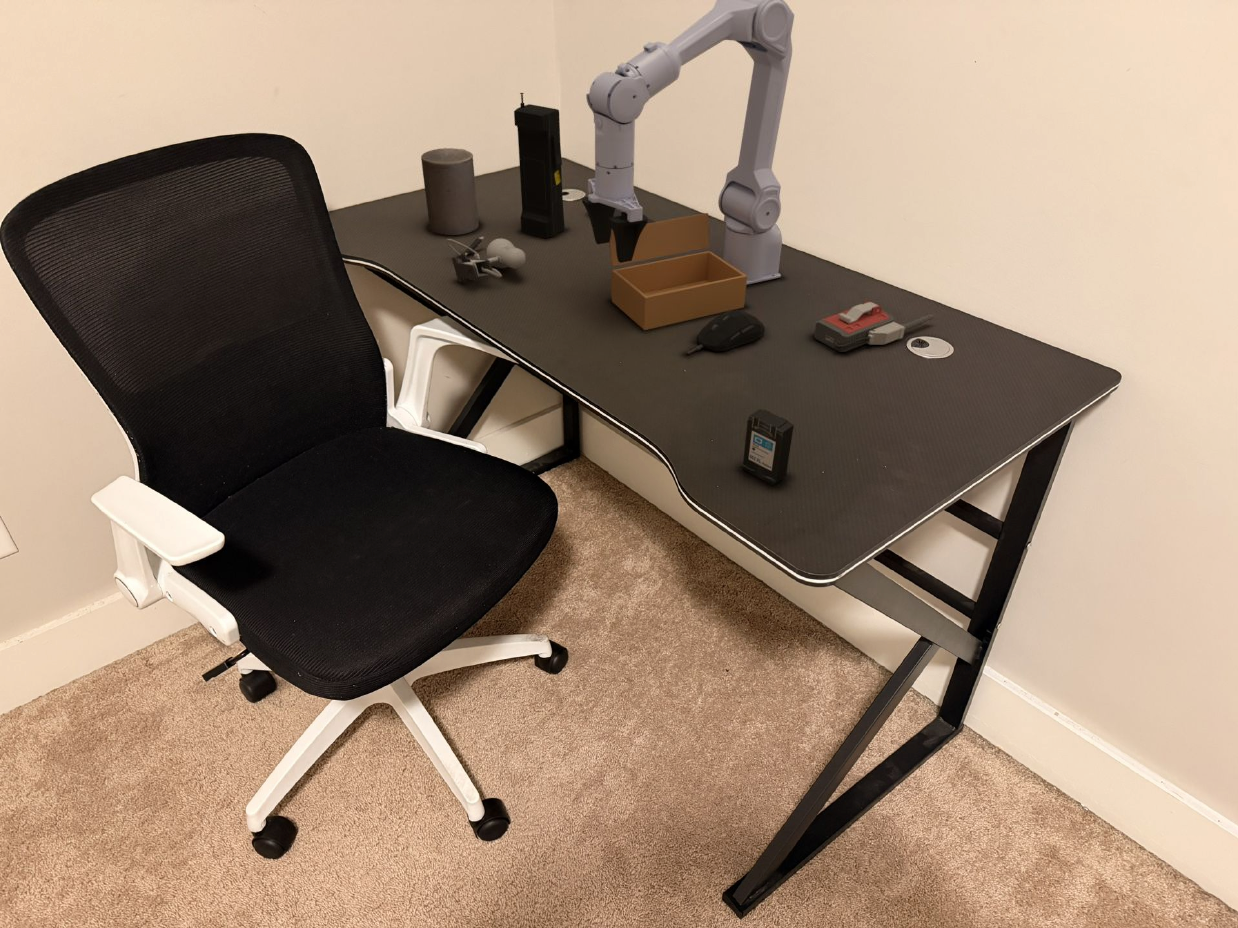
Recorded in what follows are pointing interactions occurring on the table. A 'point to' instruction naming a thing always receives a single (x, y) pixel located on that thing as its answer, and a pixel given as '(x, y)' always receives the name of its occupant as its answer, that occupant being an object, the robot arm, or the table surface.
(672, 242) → the flap
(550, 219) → the portable radio
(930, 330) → the table surface
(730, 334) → the gaming mouse
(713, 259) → the carton
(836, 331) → the walkie-talkie
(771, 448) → the ink cartridge
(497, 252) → the clip-on lamp
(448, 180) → the pillar candle
